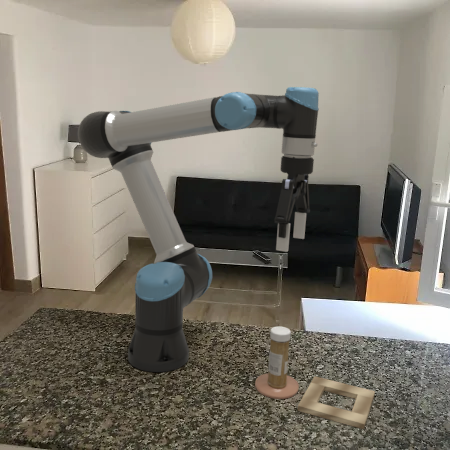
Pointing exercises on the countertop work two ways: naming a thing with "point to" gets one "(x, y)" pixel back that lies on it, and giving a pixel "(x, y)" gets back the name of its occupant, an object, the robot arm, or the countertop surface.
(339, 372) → the countertop surface
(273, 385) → the sprinkles bottle
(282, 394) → the coaster
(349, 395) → the collar board
